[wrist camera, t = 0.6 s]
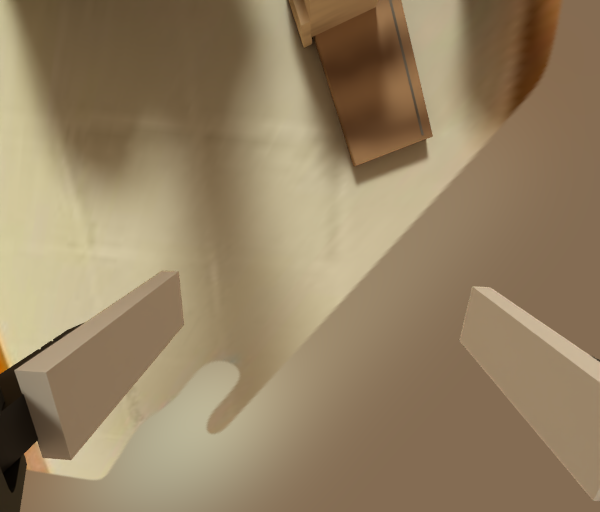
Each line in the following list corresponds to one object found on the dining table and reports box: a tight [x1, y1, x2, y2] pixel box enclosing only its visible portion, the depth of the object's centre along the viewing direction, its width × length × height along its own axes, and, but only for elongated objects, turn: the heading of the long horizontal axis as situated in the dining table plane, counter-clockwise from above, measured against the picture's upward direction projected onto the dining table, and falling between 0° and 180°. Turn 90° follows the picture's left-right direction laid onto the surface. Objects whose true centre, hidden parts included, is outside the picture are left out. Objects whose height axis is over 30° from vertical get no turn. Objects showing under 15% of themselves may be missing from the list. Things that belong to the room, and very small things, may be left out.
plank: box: [313, 0, 433, 166], centre depth 31 cm, size 21×9×2 cm, turn 21°
